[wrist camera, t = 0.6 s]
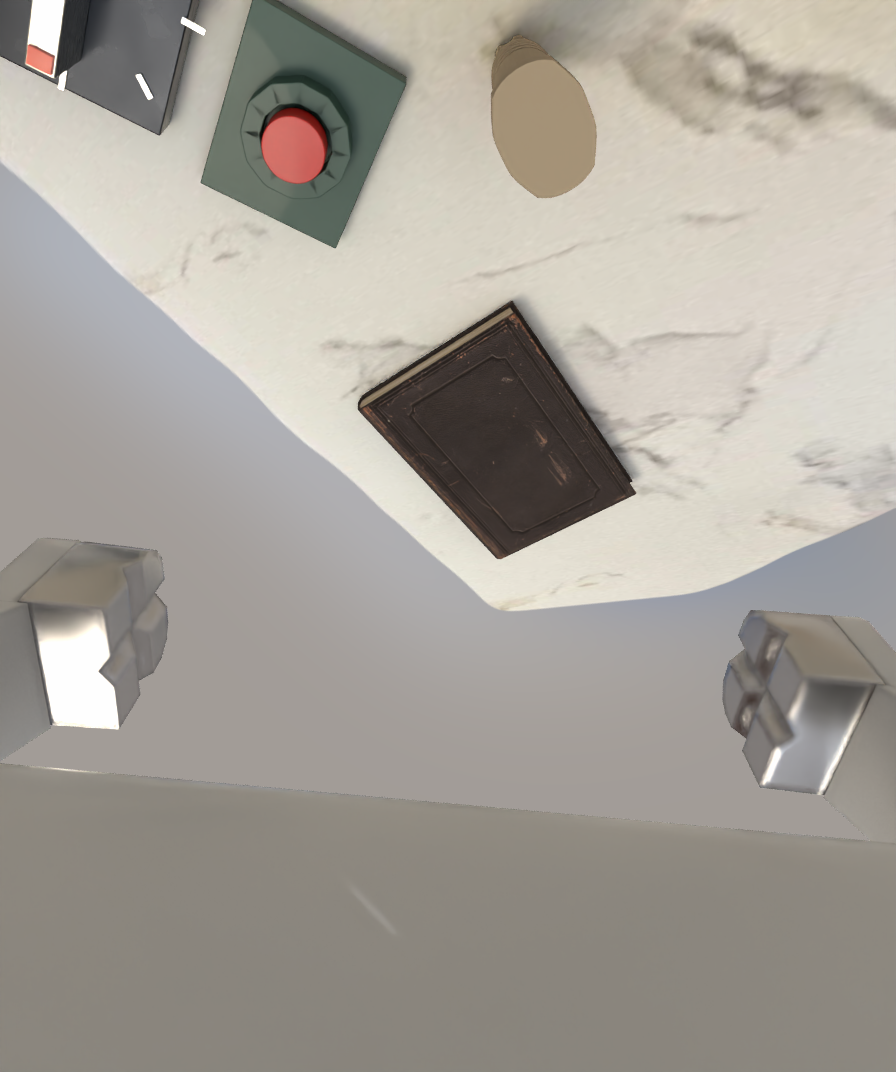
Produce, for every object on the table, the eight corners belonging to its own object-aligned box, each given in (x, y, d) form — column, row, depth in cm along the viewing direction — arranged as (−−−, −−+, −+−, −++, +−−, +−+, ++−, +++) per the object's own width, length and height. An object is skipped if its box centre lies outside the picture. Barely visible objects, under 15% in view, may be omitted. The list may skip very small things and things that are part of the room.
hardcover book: (512, 300, 59) (514, 314, 57) (631, 479, 73) (636, 494, 71) (357, 398, 65) (356, 413, 64) (494, 546, 79) (496, 562, 77)
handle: (504, 131, 50) (527, 213, 40) (460, 34, 46) (473, 96, 36) (569, 92, 49) (612, 166, 38) (529, -12, 45) (564, 38, 34)
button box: (258, -11, 45) (248, -2, 42) (406, 77, 48) (406, 91, 46) (205, 174, 52) (194, 192, 49) (337, 239, 55) (333, 259, 53)
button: (277, 94, 46) (273, 102, 45) (337, 127, 47) (334, 136, 46) (257, 155, 48) (252, 165, 47) (314, 185, 50) (311, 195, 48)
